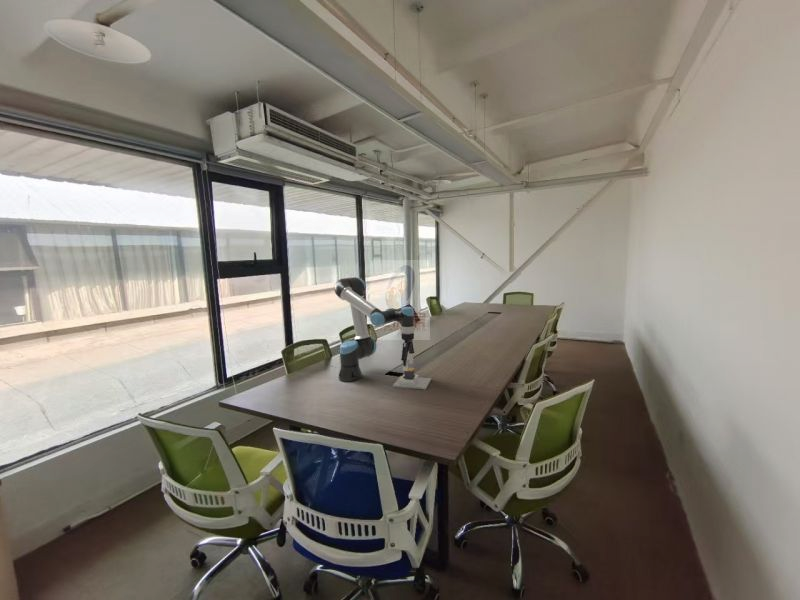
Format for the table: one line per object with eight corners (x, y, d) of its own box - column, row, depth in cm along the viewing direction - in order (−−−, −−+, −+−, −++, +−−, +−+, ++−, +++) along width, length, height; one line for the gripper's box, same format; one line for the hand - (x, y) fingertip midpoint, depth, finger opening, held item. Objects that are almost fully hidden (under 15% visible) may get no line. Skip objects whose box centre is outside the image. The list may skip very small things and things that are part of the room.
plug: (404, 382, 203) (404, 369, 202) (406, 380, 206) (406, 367, 205) (412, 382, 201) (412, 370, 200) (414, 380, 205) (413, 367, 204)
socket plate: (392, 386, 199) (392, 380, 198) (400, 377, 214) (400, 371, 213) (425, 389, 193) (425, 382, 192) (431, 379, 208) (431, 373, 208)
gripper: (408, 338, 187) (408, 374, 190) (418, 328, 211) (418, 361, 214) (395, 337, 190) (396, 373, 192) (407, 327, 213) (407, 360, 216)
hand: (408, 367), depth 203 cm, fingers open, 13 cm apart
